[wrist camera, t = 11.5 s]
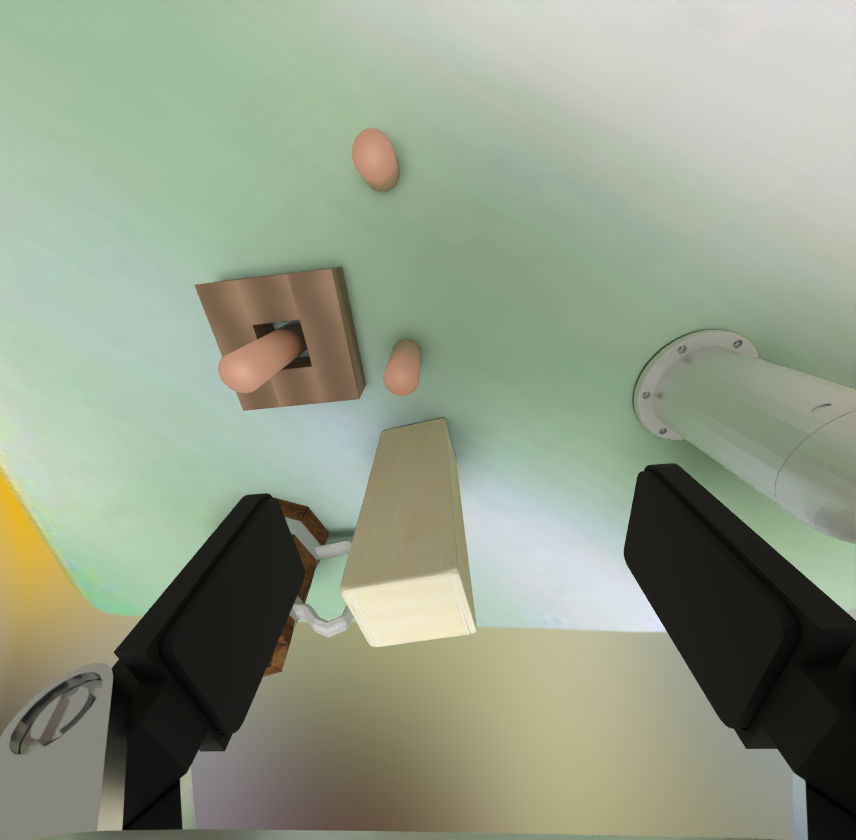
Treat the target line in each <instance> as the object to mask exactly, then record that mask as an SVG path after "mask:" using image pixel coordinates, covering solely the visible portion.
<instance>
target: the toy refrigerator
mask: <svg viewBox="0 0 856 840" xmlns="http://www.w3.org/2000/svg"><path fill="white" fill-rule="evenodd" d="M340 591H341V594H342V597H343V598H344V600H345V602H346V604H347V606H348V607H349V609H350V611H351V613H352V614H353V616H354V618H355V620H356V622H357V623H358V625H359V627H360V629H361V630H362V632H363V634H364V636H365V637H366V639H367V641H368V643H369V644H370V645H371V646H373V647H381V646H388V645H395V644H402V643H409V642H416V641H423V640H430V639H438V638H445V637H451V636H459V635H467V634H472V633H475V632H476V630H477V627H476V619H475V611H474V603H473V595H472V587H471V579H470V571H469V563H468V555H467V546H466V539H465V530H464V523H463V514H462V506H461V497H460V489H459V481H458V472H457V464H456V459H455V455H454V451H453V447H452V443H451V439H450V435H449V431H448V428H447V424H446V420H445V418H440V419H435V420H430V421H426V422H421V423H416V424H412V425H407V426H403V427H398V428H393V429H389V430H385V431H383V432H382V433H381V436H380V440H379V444H378V447H377V451H376V455H375V458H374V462H373V466H372V470H371V473H370V477H369V481H368V485H367V489H366V492H365V496H364V500H363V504H362V507H361V511H360V514H359V518H358V522H357V525H356V529H355V533H354V536H353V540H352V544H351V547H350V551H349V555H348V558H347V562H346V566H345V570H344V573H343V577H342V581H341V586H340Z"/></svg>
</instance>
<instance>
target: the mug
mask: <svg viewBox="0 0 856 840" xmlns="http://www.w3.org/2000/svg"><path fill="white" fill-rule="evenodd" d="M272 498H273V497H272ZM275 499H277V498H275ZM277 500H278V502H279V504H280V507H281V509H282V512H283V514H284V517H285V519H286V522H287V524H288V527H289V530H290V532H291V535H292V537H293V540H294V542H295V545H296V547H297V550H298V553H299V555H300V558H301V560H302V563H303V565H304V568H305V577H304V581H303V584H302V586H301V589H300V591H299V593H298V596H297V598H296V600H295V603H294V605H293V607H292V610H291V612H290V614H289V617H288V619H287V621H286V624H285V626H284V628H283V631H282V633H281V635H280V638H279V640H278V642H277V645H276V647H275V649H274V652H273V654H272V656H271V659H270V661H269V663H268V666H267V668H266V670H265V673H264V675H263V677H264V676H268V675H271V674H275V673H278V672H282V668H283V665H284V662H285V659H286V655H287V652H288V648H289V645H290V642H291V637H292V633H293V630H294V627H295V625H296V623H297V621H298V619H306V620H307V621H308V622H309V624H310V625H311V627H312V628H313V629H314V631H315V632H316V633H319V634H322V635H324V636H327V637H330V636H333V635H335V634H338V633H340V632H342V631H345V630H347V629H348V627H349V625H350V623H351V621H352V619H353V617H354V616H353V614H352V613H351V611H350V609H349V607H348V606H347V605H346V608H345V610H344V612H343V614H342V616H341V617H338V618H336V619H333V620H331V621H329V622H328V621H326V620H324V619H322V618H320V617H319V616H318V615H317V613H316V612H315V610H314V609H313V608H312V607H311V606H310V605H308V604H305V602H306V599H307V596H308V592H309V589H310V586H311V583H312V579H313V575H314V571H315V569H316V567H317V565H318V563H319V561H320V559H323V558H329V557H335V556H339V555H342V554H345V553H348V554H349V551H350V547H351V544H352V542H349V541H343V542H338V543H334V544H328V545H325V544H326V541H327V538H328V534H329V532H328V531H327V530H326V529H325V527H324V526H323V525H322V524H321V522H320V521H319V520H318V519H317V517H316V516H315V515H314V514H313V512H312V511H311V510H310V509H309V507H306V506H303V505H299V504H295V503H291V502H288V501H284V500H280V499H277Z"/></svg>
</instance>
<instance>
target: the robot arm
mask: <svg viewBox="0 0 856 840" xmlns="http://www.w3.org/2000/svg"><path fill="white" fill-rule="evenodd" d="M634 409H635V414H636V416H637V418H638V420H639V421H640V422H641V424H642V425H643V426H644V427H645V428H646V429H648V430H649V431H650V432H651V433H653V434H655V435H657V436H659V437H661V438H665V439H669V440H687V441H689V442H690V443H691V444H693V445H694V446H696V447H697V448H698V449H700V450H701V451H703V452H704V453H705V454H707V455H708V456H710V457H711V458H712V459H714V460H715V461H717V462H718V463H719V464H721V465H722V466H724V467H725V468H726V469H728V470H729V471H731V472H732V473H733V474H735V475H736V476H738V477H739V478H740V479H742V480H743V481H745V482H746V483H747V484H749V485H750V486H751V487H753V488H754V489H756V490H757V491H758V492H760V493H761V494H763V495H764V496H765V497H767V498H768V499H770V500H771V501H772V502H774V503H775V504H777V505H778V506H779V507H781V508H782V509H784V510H785V511H787V512H788V513H790V514H791V515H792V516H794V517H795V518H797V519H798V520H799V521H801V522H802V523H804V524H806V525H807V526H809V527H810V528H812V529H814V530H816V531H818V532H820V533H823V534H825V535H828V536H830V537H833V538H836V539H839V540H842V541H846V542H850V543H854V544H856V389H854V388H851V387H847V386H844V385H841V384H838V383H835V382H832V381H828V380H825V379H822V378H819V377H816V376H812V375H809V374H806V373H803V372H800V371H798V370H793V369H790V368H787V367H784V366H781V365H778V364H774V363H771V362H768V361H765V360H762V359H760V358H759V355H758V352H757V350H756V348H755V347H754V345H753V344H752V343H751V342H750V341H749V340H747V339H746V338H745V337H743V336H740V335H738V334H736V333H732V332H728V331H725V330H704V331H699V332H695V333H691V334H688V335H686V336H684V337H682V338H679V339H677V340H676V341H674V342H672V343H671V344H669V345H668V346H666V347H665V348H664V349H662V350H661V351H660V352H659V353H658V354H657V355H655V357H654V358H653V359H652V360H651V361H650V362H649V363H648V365H647V366H646V367H645V369H644V371H643V372H642V374H641V375H640V378H639V380H638V382H637V384H636V388H635V392H634ZM624 558H625V561H626V564H627V566H628V568H629V569H630V571H631V573H632V574H633V576H634V578H635V579H636V581H637V583H638V584H639V586H640V588H641V589H642V591H643V592H644V594H645V596H646V597H647V599H648V601H649V602H650V604H651V606H652V607H653V609H654V611H655V612H656V614H657V616H658V617H659V619H660V621H661V622H662V624H663V626H664V627H665V629H666V631H667V632H668V634H669V636H670V637H671V639H672V640H673V642H674V644H675V646H676V647H677V649H678V651H679V652H680V654H681V656H682V657H683V659H684V660H685V662H686V664H687V665H688V667H689V669H690V671H691V672H692V674H693V675H694V677H695V679H696V680H697V682H698V684H699V685H700V687H701V689H702V690H703V692H704V694H705V695H706V697H707V699H708V700H709V702H710V703H711V705H712V707H713V709H714V710H715V712H716V714H717V715H718V717H719V718H720V719H721V721H722V722H723V723H724V724H725V725H726V726H728V727H729V728H734V730H735V731H736V733H737V735H738V736H739V738H740V739H741V741H742V743H743V744H744V746H745V748H746V749H778V750H779V752H780V753H781V755H782V756H783V757H784V759H785V760H786V762H787V763H788V765H789V766H790V768H791V769H792V778H793V824H794V826H793V827H794V840H856V620H854V619H853V618H852V617H851V616H850V615H849V614H847V612H845V611H844V610H843V609H842V608H841V607H840V606H839V605H837V604H836V603H835V602H834V601H833V600H832V599H831V598H829V597H828V596H827V595H826V594H825V593H824V592H823V591H821V590H820V589H819V588H818V587H817V586H816V585H815V584H813V583H812V582H811V581H810V580H809V579H808V578H807V577H805V576H804V575H803V574H802V573H801V572H800V571H799V570H797V569H796V568H795V567H794V566H793V565H792V564H791V563H789V562H788V561H787V560H786V559H785V558H784V557H783V556H781V555H780V554H779V553H778V552H777V551H776V550H775V549H773V548H772V547H771V546H770V545H769V544H768V543H767V542H765V541H764V540H763V539H762V538H761V537H760V536H759V535H757V534H756V533H755V532H754V531H753V530H752V529H751V528H750V527H748V526H747V525H746V524H745V523H744V522H743V521H742V520H740V519H739V518H738V517H737V516H736V515H735V514H734V513H732V512H731V511H730V510H729V509H728V508H727V507H726V506H724V505H723V504H722V503H721V502H720V501H719V500H718V499H716V498H715V497H714V496H713V495H712V494H711V493H710V492H708V491H707V490H706V489H705V488H704V487H703V486H702V485H700V484H699V483H698V482H697V481H696V480H695V479H694V478H692V477H691V476H690V475H689V474H688V473H687V472H686V471H684V470H683V469H682V468H681V467H680V466H678V465H677V464H673V463H671V464H657V465H648V466H647V467H646V468H645V469H644V471H643V472H640V473H639V474H638V477H637V481H636V487H635V492H634V498H633V503H632V508H631V514H630V519H629V525H628V530H627V535H626V541H625V546H624ZM304 577H305V568H304V565H303V563H302V560H301V558H300V555H299V553H298V550H297V547H296V545H295V542H294V540H293V537H292V535H291V532H290V530H289V527H288V524H287V522H286V519H285V517H284V514H283V512H282V509H281V507H280V504H279V502H278V500H277V499H275V498H272V496H271V495H270V494H267V493H265V494H252V495H246V496H244V497H243V498H242V499H241V500H240V501H239V502H238V504H237V505H236V506H235V507H234V508H233V510H232V511H231V512H230V513H229V514H228V516H227V517H226V518H225V519H224V520H223V522H222V523H221V524H220V525H219V526H218V528H217V529H216V530H215V531H214V532H213V534H212V535H211V536H210V537H209V538H208V540H207V541H206V542H205V543H204V544H203V546H202V547H201V548H200V549H199V550H198V552H197V553H196V554H195V555H194V556H193V558H192V559H191V560H190V561H189V562H188V564H187V565H186V566H185V567H184V568H183V570H182V571H181V572H180V573H179V574H178V576H177V577H176V578H175V579H174V580H173V582H172V583H171V584H170V585H169V586H168V588H167V589H166V590H165V591H164V592H163V594H162V595H161V596H160V597H159V598H158V600H157V601H156V602H155V603H154V604H153V606H152V607H151V608H150V609H149V610H148V612H147V613H146V614H145V615H144V616H143V618H142V619H141V620H140V621H139V622H138V624H137V625H136V626H135V627H134V628H133V630H132V631H131V632H130V633H129V635H128V636H127V637H126V638H125V639H124V640H123V642H122V643H121V644H120V645H119V647H118V648H117V649H116V650H115V651H114V653H115V655H116V656H117V657H118V658H119V660H118V661H117V663H116V664H115V665H114V666H113V668H110V667H109V666H108V665H107V664H103V663H93V664H90V665H86V666H82V667H80V668H78V669H76V670H74V671H71V672H69V673H67V674H65V675H64V676H62V677H61V678H59V679H58V680H56V681H54V682H53V683H51V684H50V685H48V686H47V687H46V688H45V689H44V690H42V691H41V692H40V693H39V694H37V695H36V696H35V697H34V698H32V700H30V701H29V702H28V704H27V705H26V706H24V707H23V709H22V710H21V711H20V712H19V713H18V714H17V715H16V716H15V717H14V719H13V720H12V721H11V723H10V724H9V725H8V727H7V728H6V729H5V731H4V733H3V734H2V736H1V738H0V840H770V839H749V838H748V839H747V838H705V837H660V836H659V837H657V836H614V835H568V834H512V833H506V834H505V833H452V832H388V831H387V832H386V831H310V830H304V831H303V830H211V829H209V830H207V829H203V830H202V829H196V828H195V816H194V803H193V790H192V778H191V764H192V762H193V760H194V758H195V756H196V754H197V752H198V750H200V751H225V750H226V747H227V745H228V743H229V740H230V738H231V736H232V734H233V733H235V732H236V731H238V730H239V728H240V727H241V725H242V723H243V721H244V719H245V717H246V715H247V712H248V710H249V708H250V705H251V703H252V701H253V698H254V696H255V693H256V691H257V689H258V687H259V684H260V682H261V679H262V677H263V675H264V673H265V670H266V668H267V666H268V663H269V661H270V659H271V656H272V654H273V652H274V649H275V647H276V645H277V642H278V640H279V638H280V635H281V633H282V631H283V628H284V626H285V624H286V621H287V619H288V617H289V614H290V612H291V610H292V607H293V605H294V603H295V600H296V598H297V596H298V593H299V591H300V589H301V586H302V584H303V581H304ZM771 840H772V839H771Z"/></svg>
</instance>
